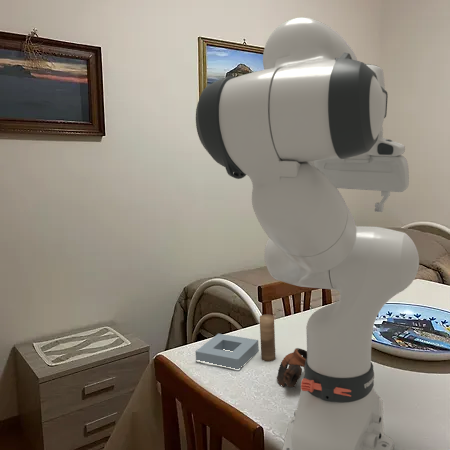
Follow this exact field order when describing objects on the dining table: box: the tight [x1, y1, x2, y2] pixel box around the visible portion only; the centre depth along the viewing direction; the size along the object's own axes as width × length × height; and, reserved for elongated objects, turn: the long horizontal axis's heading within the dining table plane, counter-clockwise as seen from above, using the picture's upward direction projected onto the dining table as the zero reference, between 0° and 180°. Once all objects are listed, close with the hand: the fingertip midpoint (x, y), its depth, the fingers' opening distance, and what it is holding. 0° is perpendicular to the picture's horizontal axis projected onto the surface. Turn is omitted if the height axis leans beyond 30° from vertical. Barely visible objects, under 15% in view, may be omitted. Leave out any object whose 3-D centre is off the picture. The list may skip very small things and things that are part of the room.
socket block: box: [195, 333, 260, 369], centre depth 117 cm, size 12×12×3 cm
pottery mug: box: [276, 347, 307, 388], centre depth 102 cm, size 12×10×8 cm
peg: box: [259, 313, 277, 362], centre depth 115 cm, size 4×4×11 cm
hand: (356, 209), depth 100 cm, fingers open, 8 cm apart
